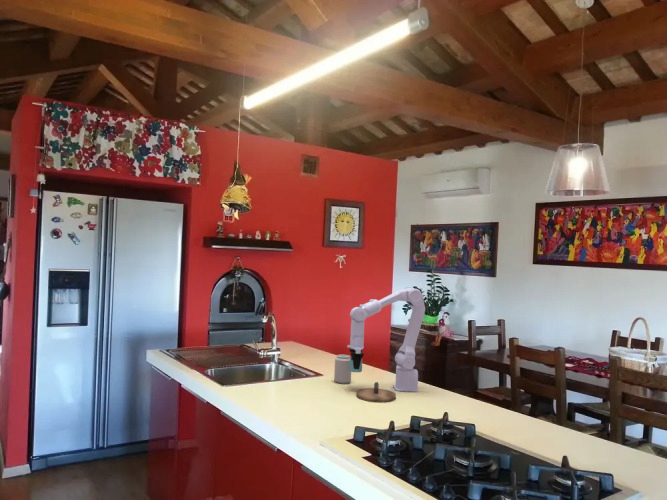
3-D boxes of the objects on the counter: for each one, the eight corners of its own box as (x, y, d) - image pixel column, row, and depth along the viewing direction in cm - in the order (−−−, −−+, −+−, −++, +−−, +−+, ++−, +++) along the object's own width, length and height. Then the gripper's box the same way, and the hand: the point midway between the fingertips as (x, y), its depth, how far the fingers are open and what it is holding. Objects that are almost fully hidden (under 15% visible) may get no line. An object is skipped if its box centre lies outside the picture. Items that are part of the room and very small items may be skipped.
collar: (360, 369, 231) (361, 358, 231) (362, 372, 226) (362, 360, 226) (348, 369, 231) (349, 357, 231) (349, 372, 225) (350, 360, 225)
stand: (392, 392, 226) (392, 378, 226) (398, 403, 210) (399, 387, 210) (354, 391, 225) (355, 376, 225) (358, 401, 209) (359, 386, 209)
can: (344, 385, 235) (345, 357, 235) (330, 381, 239) (332, 355, 240) (354, 382, 241) (355, 355, 241) (340, 379, 245) (341, 353, 245)
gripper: (346, 332, 235) (345, 363, 235) (349, 337, 221) (347, 370, 221) (362, 333, 236) (361, 364, 235) (366, 338, 221) (364, 371, 221)
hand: (355, 367), depth 228 cm, fingers closed on collar, 5 cm apart
